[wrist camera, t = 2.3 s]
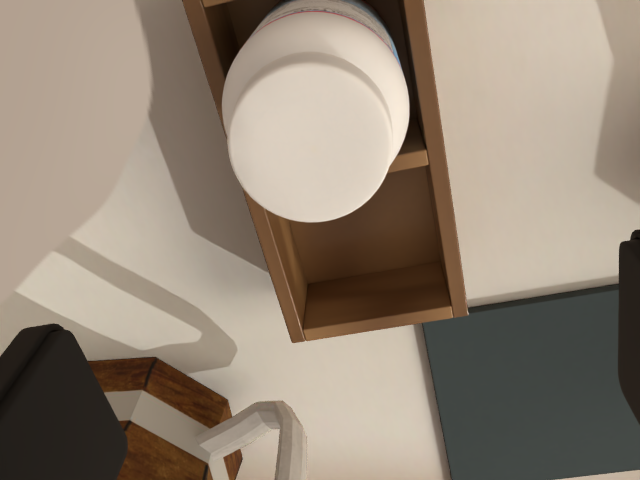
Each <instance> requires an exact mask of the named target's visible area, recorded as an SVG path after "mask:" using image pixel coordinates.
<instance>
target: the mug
mask: <svg viewBox="0 0 640 480" xmlns="http://www.w3.org/2000/svg"><path fill="white" fill-rule="evenodd" d="M88 363H89V365H90V367H91V369H92V371H93V373H94V375H95V377H96V379H97V380H98V382H99V384H100V386H101V388H102V390H103V392H104V394H105V396H106V398H107V399H108V401H109V403H110V405H111V407H112V409H113V411H114V413H115V415H116V417H117V418H118V420H119V422H120V424H121V426H122V428H123V430H124V432H125V434H126V436H127V441H128V450H127V455H126V458H125V460H124V463H123V465H122V468H121V470H120V472H119V475H118V477H117V480H235V479H236V476H237V474H238V471H239V468H240V465H241V462H242V459H243V458H242V454H241V450H240V448H242V447H244V446H246V445H248V444H250V443H251V442H253V441H255V440H256V439H258V438H259V437H261V436H263V435H264V434H266V433H267V432H269V431H271V430H272V429H280V434H279V445H278V455H277V463H276V472H275V480H307V436H306V434H305V431H304V429H303V426H302V425H301V423H300V421H299V420H298V418H297V417H296V415H295V413H294V412H293V410H292V408H291V407H290V406H288V405H287V404H286V403H285V402H284V401H262V402H256V403H254V404H252V405H251V406H249V407H248V408H246V409H244V410H243V411H241V412H240V413H238V414H236V415H235V416H233V417H232V414H231V410H230V407H229V403H228V400H227V399H225V398H223V397H222V396H220V395H218V394H217V393H215V392H213V391H212V390H210V389H208V388H207V387H205V386H203V385H202V384H200V383H198V382H196V381H195V380H193V379H191V378H190V377H188V376H186V375H185V374H183V373H181V372H180V371H178V370H176V369H175V368H173V367H171V366H169V365H168V364H166V363H164V362H163V361H161V360H159V359H158V358H156V357H152V358H136V359H120V360H104V361H88Z"/></svg>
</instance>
